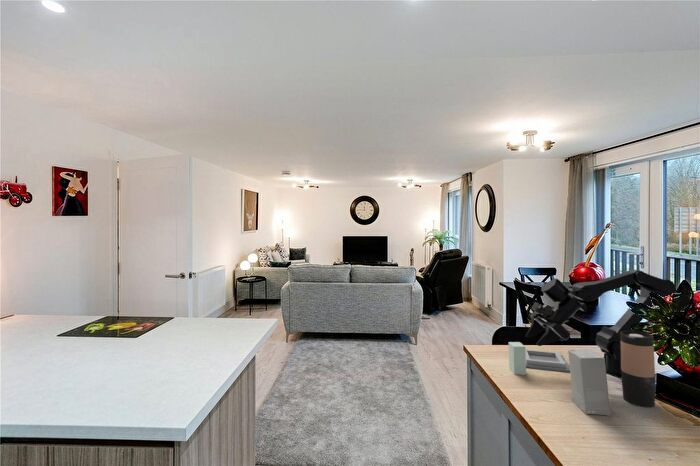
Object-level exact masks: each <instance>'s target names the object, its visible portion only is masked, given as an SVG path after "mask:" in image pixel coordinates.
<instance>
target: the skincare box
mask: <svg viewBox="0 0 700 466" xmlns="http://www.w3.org/2000/svg"><path fill="white" fill-rule="evenodd" d="M567 354H568V361H569V363H568V365H569V366H570V372H569V373H570V383H571V395H572V396H571V397H572V402H574V403H575V405H577V406H578V407H579V408H580V410H582V411H583V412H584V414H586V415H603V416H611V406H610V397H609V386H608V379H607V378H608V377H607V373H606V366H605V358H603V357H604V356H602V355H600V354H598V353H596V352H595V351H593V350H591V349H568V350H567Z"/></svg>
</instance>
